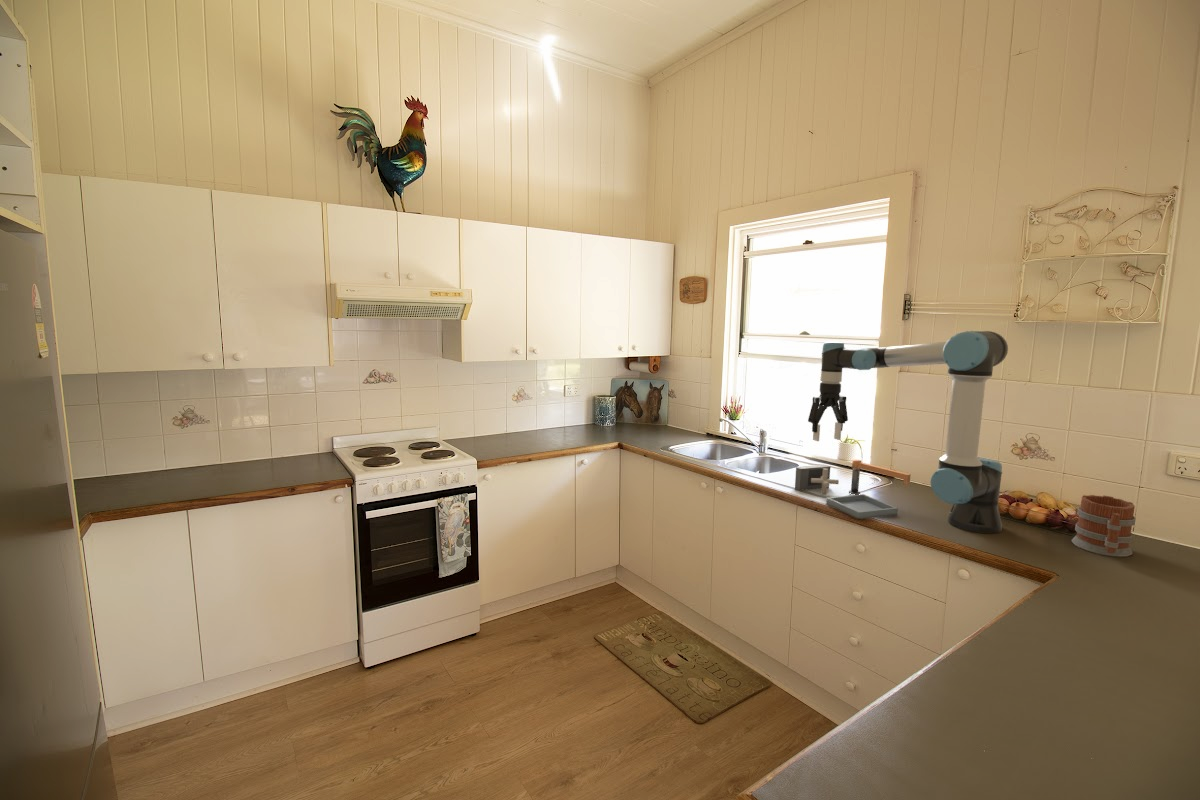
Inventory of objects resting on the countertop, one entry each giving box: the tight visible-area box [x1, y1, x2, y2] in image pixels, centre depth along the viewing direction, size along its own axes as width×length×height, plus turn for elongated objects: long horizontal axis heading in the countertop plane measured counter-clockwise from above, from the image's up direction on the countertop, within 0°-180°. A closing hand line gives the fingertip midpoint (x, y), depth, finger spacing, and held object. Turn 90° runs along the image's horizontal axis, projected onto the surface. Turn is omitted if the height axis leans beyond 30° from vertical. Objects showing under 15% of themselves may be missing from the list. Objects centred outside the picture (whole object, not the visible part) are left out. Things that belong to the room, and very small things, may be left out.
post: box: [848, 468, 861, 495], centre depth 224 cm, size 4×4×10 cm
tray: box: [825, 493, 899, 520], centre depth 206 cm, size 17×17×2 cm
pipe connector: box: [811, 468, 840, 495], centre depth 224 cm, size 10×10×10 cm
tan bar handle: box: [851, 459, 912, 486], centre depth 215 cm, size 3×23×4 cm, turn 31°
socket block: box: [794, 464, 831, 492], centre depth 231 cm, size 3×14×9 cm, turn 107°
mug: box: [1071, 494, 1136, 558], centre depth 170 cm, size 14×19×15 cm
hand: (826, 439), depth 222 cm, fingers open, 9 cm apart
